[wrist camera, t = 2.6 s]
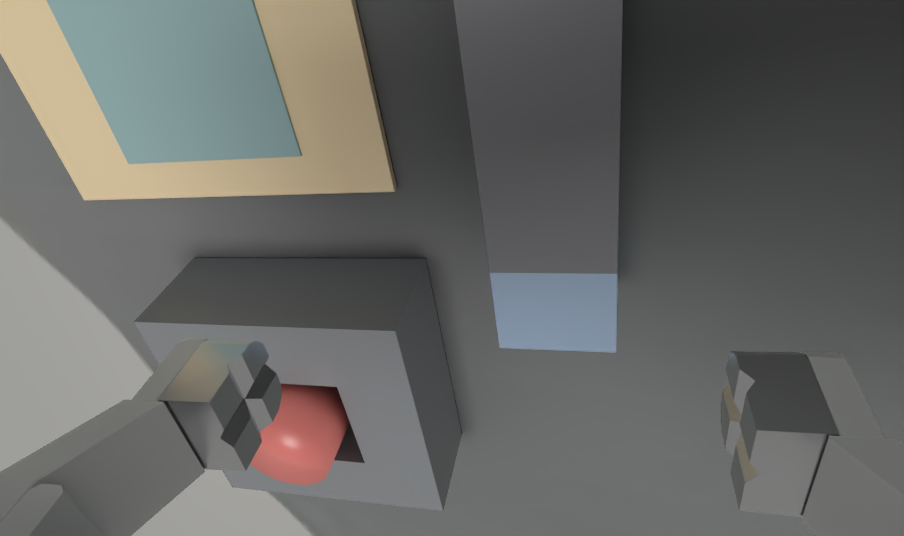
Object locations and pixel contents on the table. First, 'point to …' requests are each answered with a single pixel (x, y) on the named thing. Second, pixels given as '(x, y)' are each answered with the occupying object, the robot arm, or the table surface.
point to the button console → (335, 361)
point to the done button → (303, 435)
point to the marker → (547, 164)
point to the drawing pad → (201, 95)
